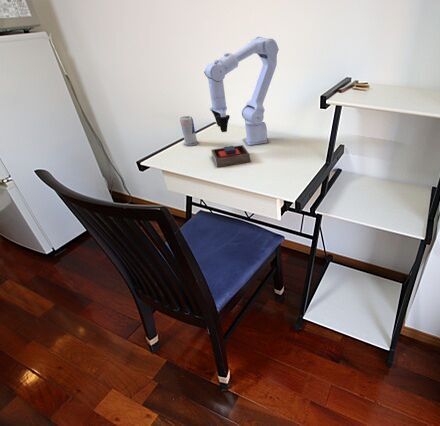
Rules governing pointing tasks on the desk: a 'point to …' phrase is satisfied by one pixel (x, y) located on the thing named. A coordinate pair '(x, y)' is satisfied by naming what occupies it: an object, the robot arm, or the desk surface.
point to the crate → (231, 157)
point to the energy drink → (188, 130)
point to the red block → (229, 152)
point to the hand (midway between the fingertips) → (222, 128)
